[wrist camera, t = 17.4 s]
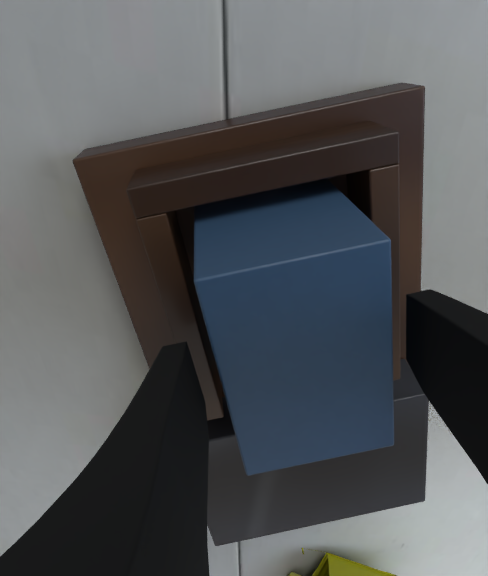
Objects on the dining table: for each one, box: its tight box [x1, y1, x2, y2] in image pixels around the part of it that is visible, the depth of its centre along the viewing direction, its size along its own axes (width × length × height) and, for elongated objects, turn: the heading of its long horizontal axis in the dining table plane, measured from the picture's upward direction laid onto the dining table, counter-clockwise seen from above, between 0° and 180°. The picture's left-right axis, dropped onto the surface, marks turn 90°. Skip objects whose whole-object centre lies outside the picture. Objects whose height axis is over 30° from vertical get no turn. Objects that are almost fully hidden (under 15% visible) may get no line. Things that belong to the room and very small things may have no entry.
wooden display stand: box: [73, 83, 429, 546], centre depth 16 cm, size 16×10×4 cm, turn 10°
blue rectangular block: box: [194, 179, 394, 476], centre depth 12 cm, size 6×4×5 cm, turn 10°
